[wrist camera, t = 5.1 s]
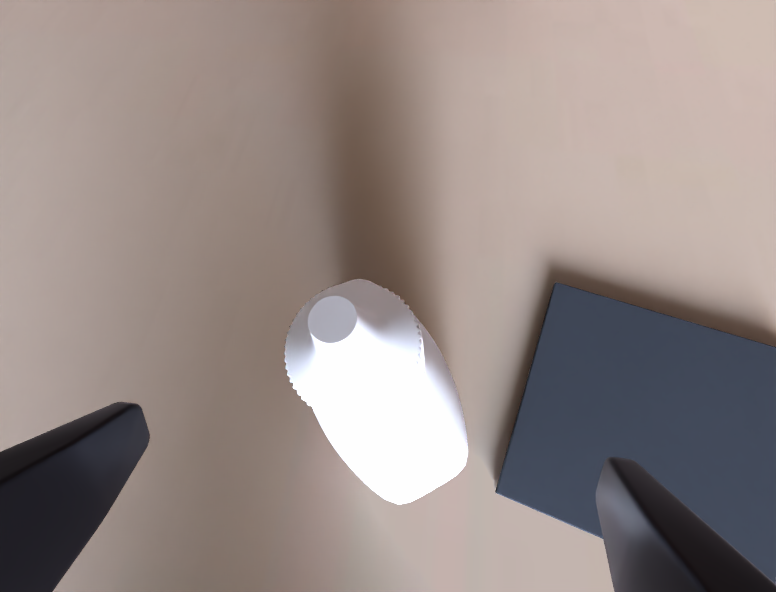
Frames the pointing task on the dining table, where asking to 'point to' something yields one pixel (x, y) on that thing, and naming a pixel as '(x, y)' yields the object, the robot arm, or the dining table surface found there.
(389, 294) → the eye dropper bottle
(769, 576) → the coaster
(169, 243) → the dining table surface
